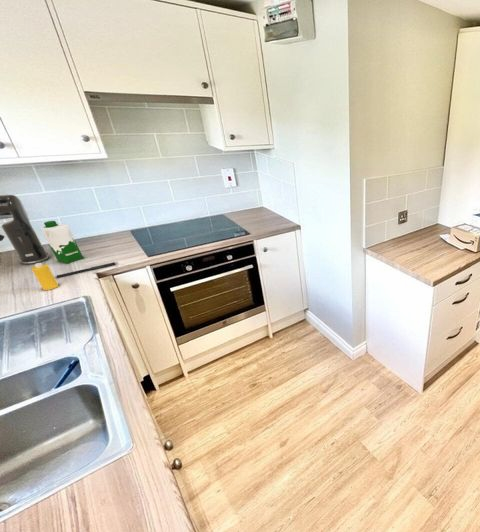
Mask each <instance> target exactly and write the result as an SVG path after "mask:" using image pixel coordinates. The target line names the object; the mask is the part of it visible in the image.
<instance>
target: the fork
mask: <svg viewBox="0 0 480 532" xmlns="http://www.w3.org/2000/svg"><path fill="white" fill-rule="evenodd" d="M113 266H116V263H115V261H114V262H109V263H105V264H100V265H96V266H91V267H89V268H84V269H80V270H75V271H70V272H66V273H62V274H57V275H56V278H58V279H59V278H64V277H69V276H72V275H76V274H81V273H85V272H90V271H96V270H99V269H103V268H108V267H113Z"/></svg>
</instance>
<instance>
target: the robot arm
mask: <svg viewBox="0 0 480 532" xmlns="http://www.w3.org/2000/svg"><path fill="white" fill-rule="evenodd" d="M3 216H12V220H11V219H10V220H9V221H6V222H4V223H2V224H1V229H2V230H3V232H4V233H5V235H6V237H7V239H8V240H9V242H10V244H11V245H12V247H13V249H14V251H15V253H16V254H17V256H18V258H19V260H20V262H21V264H23V265H31V264H37V263H42V262H44V261H46V260H48V259H49V255H48V254H47V251H46V250H45V248H44V246H43V244H42V242H41V241H40V238H39V237H38V235H37V232H36V231H35V229H34V227H33V226H32V223H31V220H30V218H29V215H28V214H27V211H26V209H25V207H24V205H23V203H22V200H21V199H20V198H19V197H18V196H17V195H14V194H1V195H0V217H3ZM5 235H3V234H0V242H2V241H3V240H4V239H5Z"/></svg>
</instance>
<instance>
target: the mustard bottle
mask: <svg viewBox="0 0 480 532" xmlns="http://www.w3.org/2000/svg"><path fill="white" fill-rule="evenodd" d="M31 270H32V272H33V274H34V276H35V277H36V280H37V281H38V283H39V285H40V286H41V288H42V290H44V291H50V290H53V289H56V288H58V287H59V283H58V281H57V280H56V278H55V276H54V274H53V272H52V271H51V269H50V267H49V265H48V264H43V263H42V262H38V263H34V266H33V267H32V268H31Z"/></svg>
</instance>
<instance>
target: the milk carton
mask: <svg viewBox="0 0 480 532" xmlns="http://www.w3.org/2000/svg"><path fill="white" fill-rule="evenodd" d="M43 225H44V226H43V227H39V230H40V231H41V233H42V234H43V236H44V238H45V239H46V242H47V243H48V245H49V247H50V249H51V252H52V253H53V255H54V257H55V258H56V260H57V262H60V263H63V264H64V263H65V264H70V263H73V262H76V261H80V260H81V259H84V256H83V254H82V251H81V250H80V247H79V246H78V244H77V242H76V239H75V237H74V235H73V234H72V233H73V232H72V231H71V228H70V225H68V224H65V223H57V221H56V220H48V221H45V222H43Z"/></svg>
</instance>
